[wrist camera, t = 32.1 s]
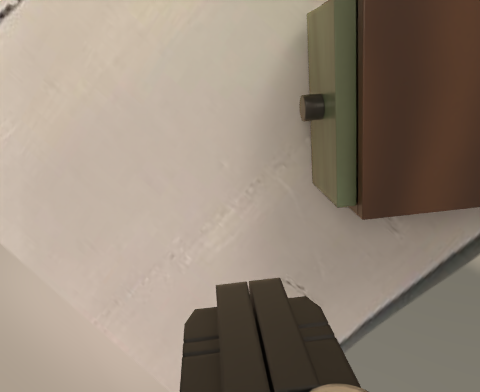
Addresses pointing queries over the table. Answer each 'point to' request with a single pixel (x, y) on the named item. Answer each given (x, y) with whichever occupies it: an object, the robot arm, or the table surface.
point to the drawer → (333, 100)
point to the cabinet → (418, 106)
